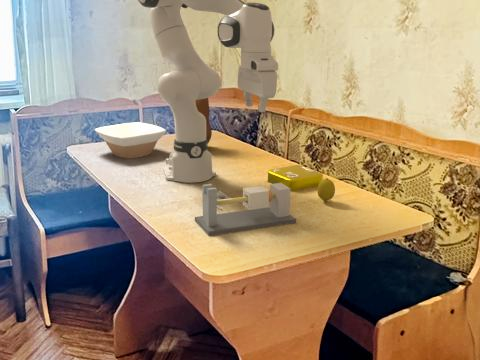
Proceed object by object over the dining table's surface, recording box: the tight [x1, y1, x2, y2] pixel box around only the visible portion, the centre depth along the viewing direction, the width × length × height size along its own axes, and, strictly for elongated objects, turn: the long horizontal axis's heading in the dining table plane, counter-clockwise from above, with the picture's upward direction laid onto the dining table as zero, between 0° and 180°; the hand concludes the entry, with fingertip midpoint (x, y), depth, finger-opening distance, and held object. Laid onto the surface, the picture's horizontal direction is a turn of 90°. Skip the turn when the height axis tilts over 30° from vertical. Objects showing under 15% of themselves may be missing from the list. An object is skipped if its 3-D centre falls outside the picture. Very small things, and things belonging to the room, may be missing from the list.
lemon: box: [316, 177, 336, 203], centre depth 188 cm, size 6×6×8 cm
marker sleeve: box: [242, 185, 270, 210], centre depth 170 cm, size 5×6×5 cm
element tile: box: [267, 164, 324, 192], centre depth 208 cm, size 15×15×5 cm
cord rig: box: [194, 183, 297, 237], centre depth 169 cm, size 12×27×12 cm, turn 112°
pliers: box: [217, 190, 243, 211], centre depth 189 cm, size 10×2×15 cm
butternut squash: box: [195, 97, 213, 144], centre depth 250 cm, size 14×13×25 cm
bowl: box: [94, 121, 167, 160], centre depth 243 cm, size 24×25×11 cm
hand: (255, 109), depth 173 cm, fingers open, 8 cm apart
